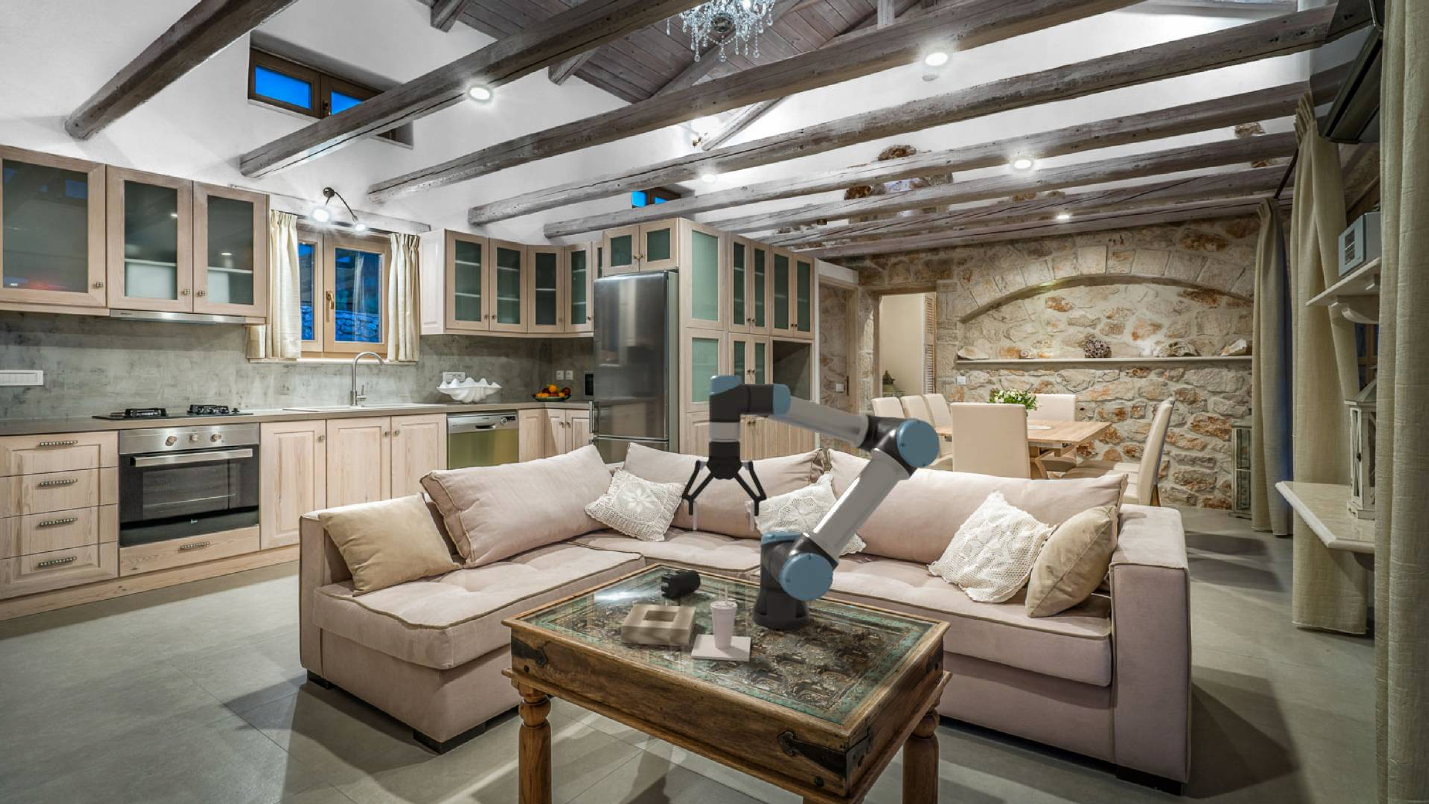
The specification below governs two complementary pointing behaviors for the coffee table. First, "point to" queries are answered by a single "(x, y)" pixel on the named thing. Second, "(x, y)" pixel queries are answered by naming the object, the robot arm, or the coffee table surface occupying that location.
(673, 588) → the end cap
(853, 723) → the coffee table surface
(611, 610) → the coffee table surface
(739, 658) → the tile
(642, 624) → the frame
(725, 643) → the smoothie
